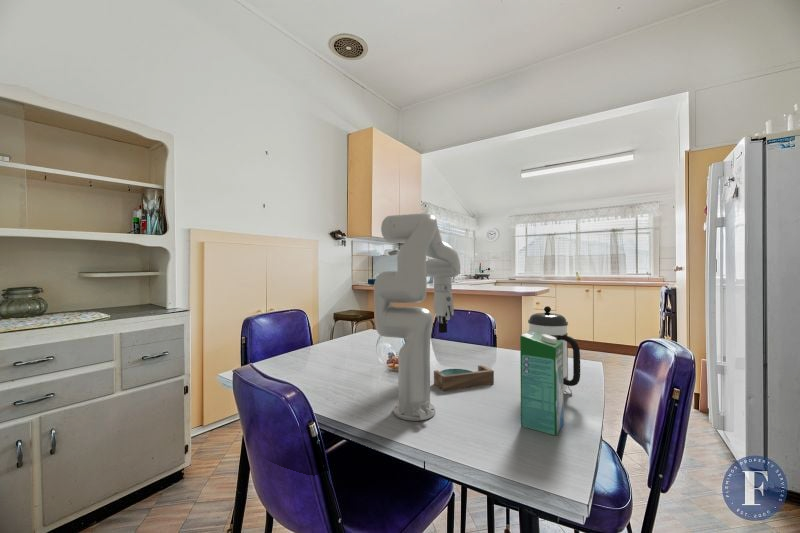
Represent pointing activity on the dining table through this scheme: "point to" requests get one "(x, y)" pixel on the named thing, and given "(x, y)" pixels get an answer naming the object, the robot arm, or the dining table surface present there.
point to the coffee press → (558, 329)
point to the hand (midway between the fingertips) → (442, 332)
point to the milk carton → (541, 382)
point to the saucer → (454, 371)
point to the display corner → (464, 379)
